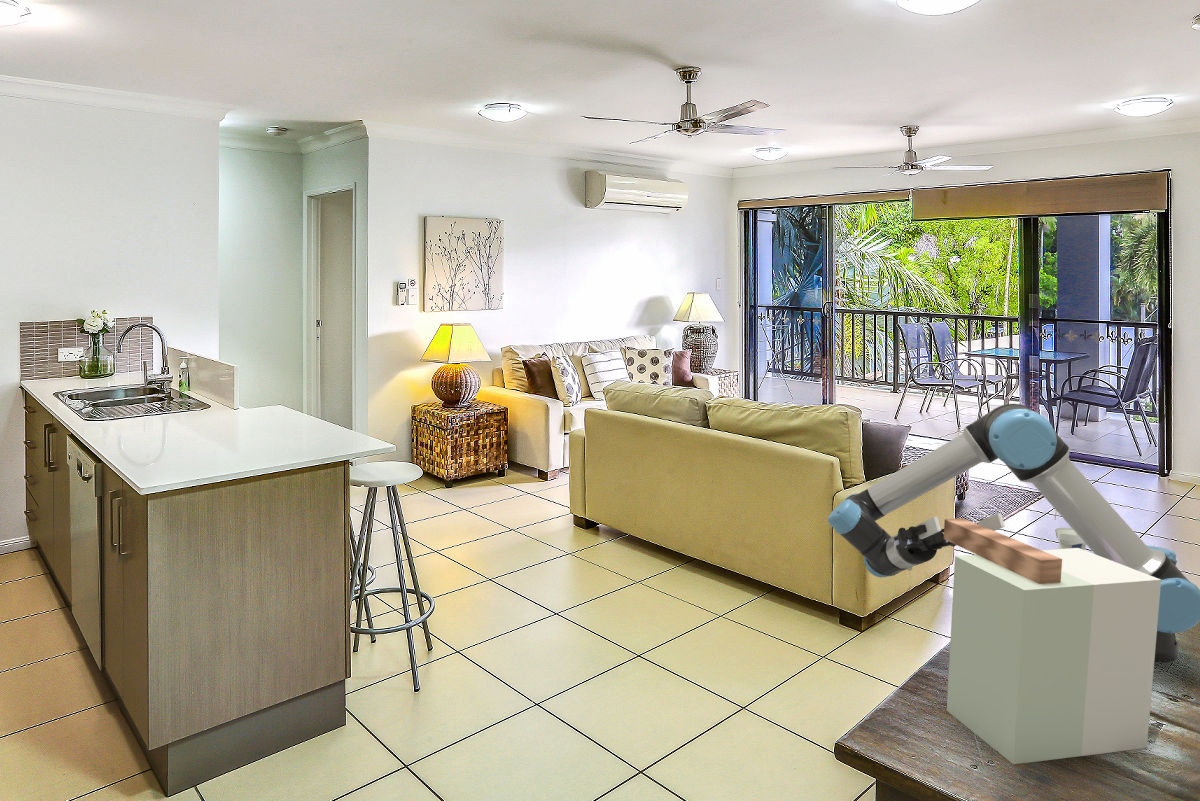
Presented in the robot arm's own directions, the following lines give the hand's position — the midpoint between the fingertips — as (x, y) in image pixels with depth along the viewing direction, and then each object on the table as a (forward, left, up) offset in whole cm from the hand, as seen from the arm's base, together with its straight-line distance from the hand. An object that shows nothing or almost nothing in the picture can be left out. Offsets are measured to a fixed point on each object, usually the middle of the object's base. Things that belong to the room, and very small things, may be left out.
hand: (969, 521), depth 151 cm
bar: (-1, +8, -5) cm, 9 cm away
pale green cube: (-8, +13, -35) cm, 38 cm away
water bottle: (-53, -42, -35) cm, 76 cm away
